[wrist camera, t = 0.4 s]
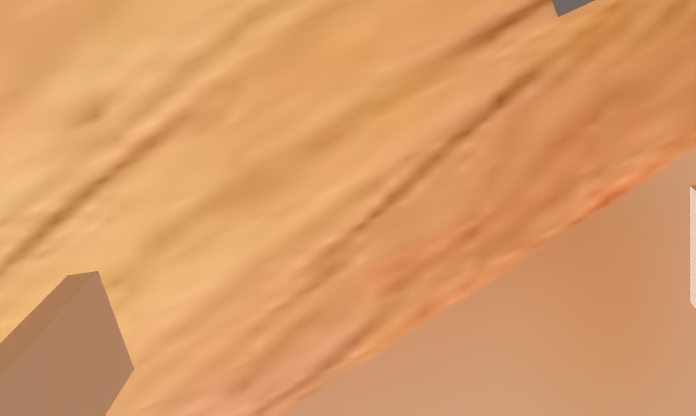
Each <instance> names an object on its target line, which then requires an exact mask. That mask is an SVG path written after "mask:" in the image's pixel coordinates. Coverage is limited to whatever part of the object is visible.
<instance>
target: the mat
mask: <svg viewBox="0 0 696 416" xmlns="http://www.w3.org/2000/svg"><path fill="white" fill-rule="evenodd" d="M552 1H553V4H554V7H555V9H556V12H557V15H558V16H561V15H563V14H566V13H568V12H570V11H572V10H574V9H577V8H579V7H581V6H583V5H585V4H588V3H590V2H592V1H594V0H552Z"/></svg>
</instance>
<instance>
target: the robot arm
mask: <svg viewBox="0 0 696 416" xmlns="http://www.w3.org/2000/svg"><path fill="white" fill-rule="evenodd" d="M690 263H691V264H690V268H691V270H690V280H691V281H690V285H691V286H690V287H691V289H690V291H691V292H690V293H691V295H690V297H691V303H692V304H693V306H694V307H695V308H696V185H694V186H690ZM133 370H134V367H133V365H132V362H131V359H130V357H129V354H128V351H127V348H126V346H125V343H124V340H123V338H122V335H121V332H120V330H119V327H118V324H117V321H116V319H115V316H114V313H113V311H112V308H111V305H110V302H109V300H108V297H107V294H106V292H105V289H104V286H103V284H102V281H101V278H100V275H99V273H98V271H96V272H89V273H82V274H75V275H68V276H67V277H66V278H65V279H64V280H63V281H62V282H61V283H60V284H59V285H58V286H57V287H56V288H55V289H54V290H53V291H52V292H51V293H50V294H49V295H48V296H47V297H46V298H45V299H44V300H43V301H42V302H41V303H40V304H39V305H38V306H37V307H36V308H35V309H34V310H33V311H32V312H31V313H30V314H29V315H28V316H27V317H26V318H25V319H24V320H23V321H22V322H21V323H20V324H19V325H18V326H17V327H16V328H15V329H14V330H13V331H12V332H11V333H10V334H9V335H8V336H7V337H6V338H5V339H4V340H3V341H2V342H1V343H0V416H105V415H106V413H107V411H108V410H109V408H110V407H111V405H112V403H113V402H114V400H115V399H116V397H117V395H118V394H119V392H120V391H121V389H122V387H123V386H124V384H125V383H126V381H127V379H128V378H129V376H130V375H131V373H132V371H133Z"/></svg>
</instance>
